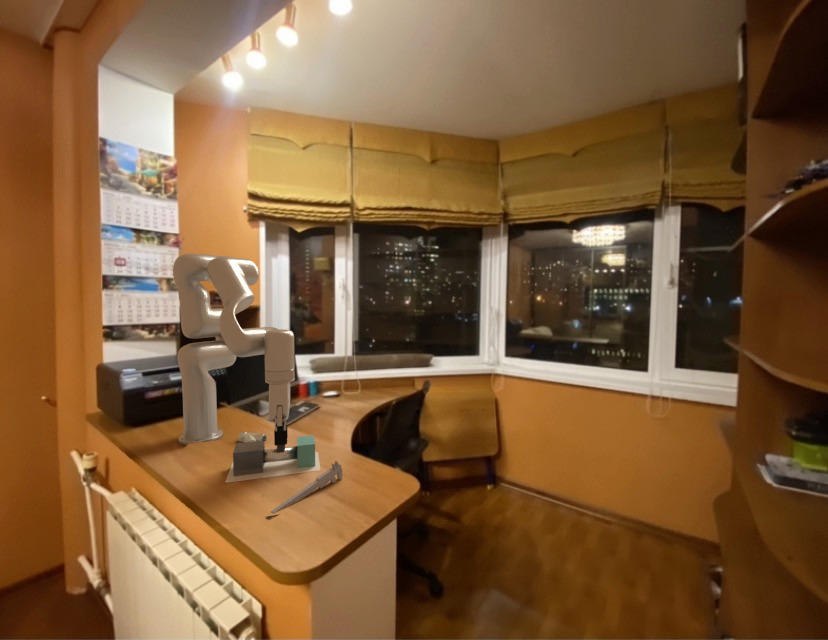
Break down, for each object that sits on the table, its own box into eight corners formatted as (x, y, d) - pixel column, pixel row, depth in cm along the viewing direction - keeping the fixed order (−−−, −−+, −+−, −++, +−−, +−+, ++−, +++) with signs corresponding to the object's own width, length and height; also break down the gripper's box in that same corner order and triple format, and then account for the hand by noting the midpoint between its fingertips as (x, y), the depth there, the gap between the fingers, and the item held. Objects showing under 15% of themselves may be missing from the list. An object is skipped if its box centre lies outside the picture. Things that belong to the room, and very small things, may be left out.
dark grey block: (237, 465, 101) (236, 443, 101) (264, 462, 103) (264, 440, 103) (233, 476, 95) (232, 453, 95) (262, 472, 97) (262, 449, 97)
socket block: (297, 458, 106) (297, 437, 106) (314, 456, 108) (313, 435, 107) (297, 468, 100) (297, 445, 100) (315, 466, 101) (315, 443, 101)
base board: (233, 465, 104) (232, 461, 104) (317, 454, 111) (317, 451, 111) (225, 486, 92) (225, 482, 92) (320, 473, 99) (320, 470, 99)
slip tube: (246, 462, 101) (245, 429, 100) (300, 455, 105) (300, 424, 104) (244, 467, 97) (244, 433, 97) (300, 460, 102) (300, 428, 101)
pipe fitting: (254, 453, 113) (267, 443, 119) (253, 441, 112) (266, 431, 119) (231, 450, 114) (245, 440, 121) (230, 438, 114) (244, 429, 120)
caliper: (339, 482, 95) (339, 458, 95) (342, 483, 95) (342, 459, 94) (265, 519, 79) (265, 491, 79) (268, 521, 79) (267, 493, 78)
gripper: (267, 370, 107) (268, 432, 108) (262, 383, 91) (263, 456, 92) (294, 368, 109) (295, 429, 110) (294, 381, 93) (295, 452, 95)
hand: (281, 441), depth 101 cm, fingers closed on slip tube, 3 cm apart
